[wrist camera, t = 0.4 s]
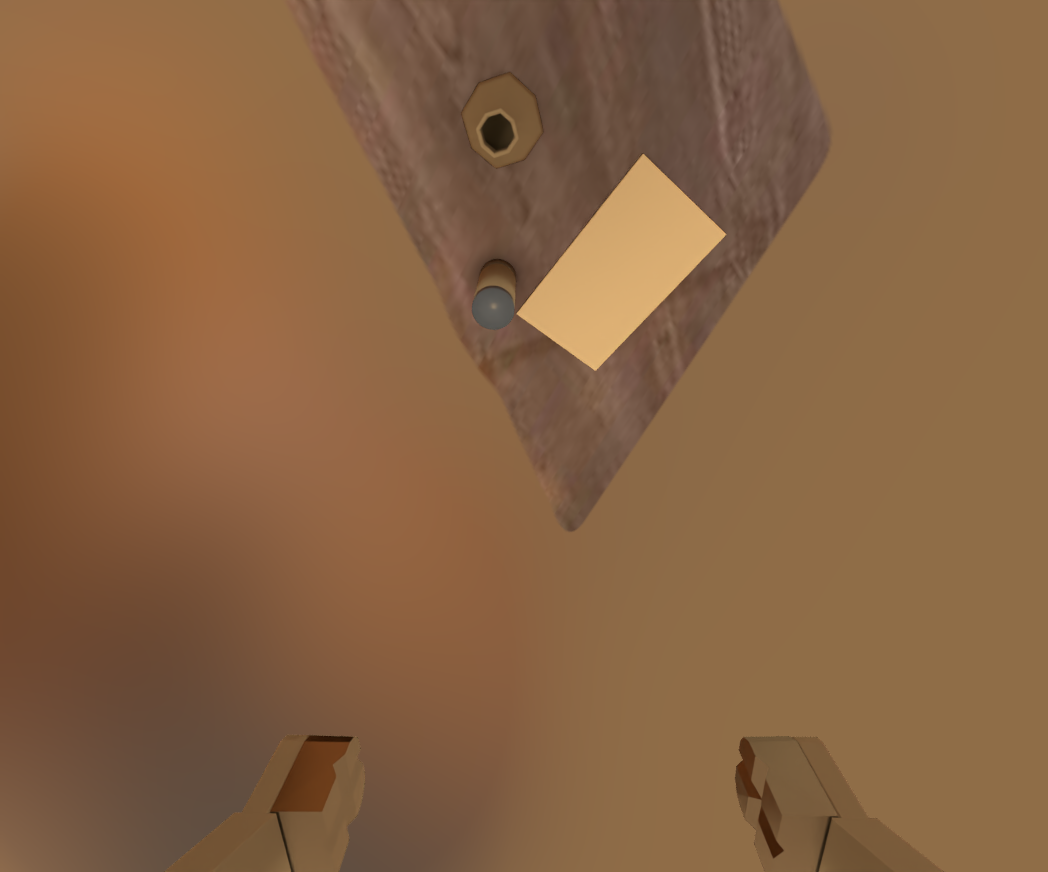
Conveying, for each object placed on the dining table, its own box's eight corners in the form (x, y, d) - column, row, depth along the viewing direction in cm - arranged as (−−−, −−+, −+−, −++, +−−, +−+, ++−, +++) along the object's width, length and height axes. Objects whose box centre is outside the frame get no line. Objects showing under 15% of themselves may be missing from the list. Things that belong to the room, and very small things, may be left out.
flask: (512, 53, 43) (508, 50, 35) (556, 134, 47) (562, 148, 38) (447, 109, 45) (429, 118, 37) (494, 182, 49) (487, 205, 41)
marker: (493, 251, 53) (487, 280, 46) (523, 274, 54) (522, 306, 47) (472, 281, 55) (463, 313, 48) (502, 302, 56) (498, 337, 49)
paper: (642, 153, 47) (643, 153, 47) (725, 233, 51) (726, 234, 51) (516, 312, 57) (516, 313, 57) (595, 369, 61) (595, 370, 61)
